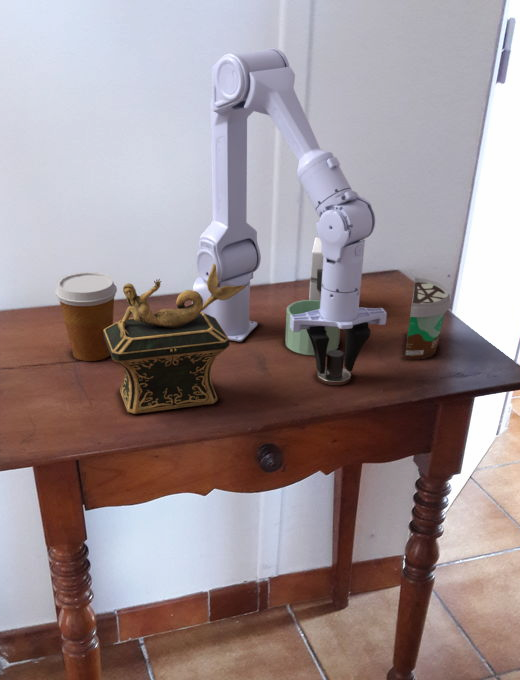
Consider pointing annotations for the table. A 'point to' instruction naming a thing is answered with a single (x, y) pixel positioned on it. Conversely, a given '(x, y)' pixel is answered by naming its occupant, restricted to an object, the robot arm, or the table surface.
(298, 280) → the table surface
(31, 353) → the table surface
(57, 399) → the table surface
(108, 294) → the disposable coffee cup
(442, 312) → the food container
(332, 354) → the lid
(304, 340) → the cup
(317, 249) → the ink box
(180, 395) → the decorative box
